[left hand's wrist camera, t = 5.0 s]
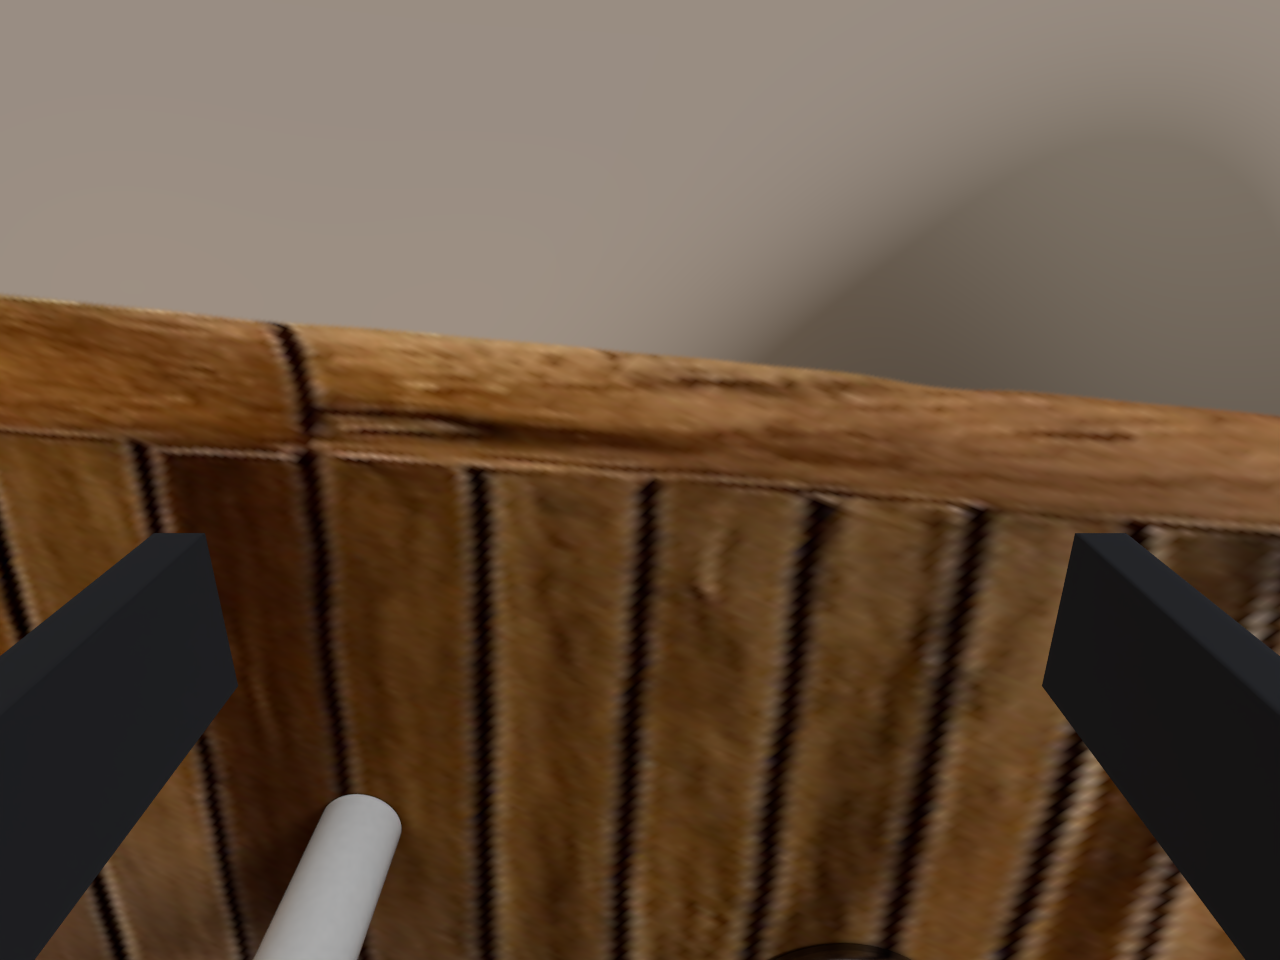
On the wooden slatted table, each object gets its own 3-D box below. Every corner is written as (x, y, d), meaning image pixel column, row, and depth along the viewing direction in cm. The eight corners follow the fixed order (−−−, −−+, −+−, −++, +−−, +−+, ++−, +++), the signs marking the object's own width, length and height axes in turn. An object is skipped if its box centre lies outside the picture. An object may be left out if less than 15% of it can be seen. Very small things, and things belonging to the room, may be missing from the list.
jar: (407, 853, 52) (306, 1163, 36) (330, 856, 52) (194, 1168, 36) (394, 791, 50) (280, 1090, 34) (314, 795, 50) (163, 1095, 34)
